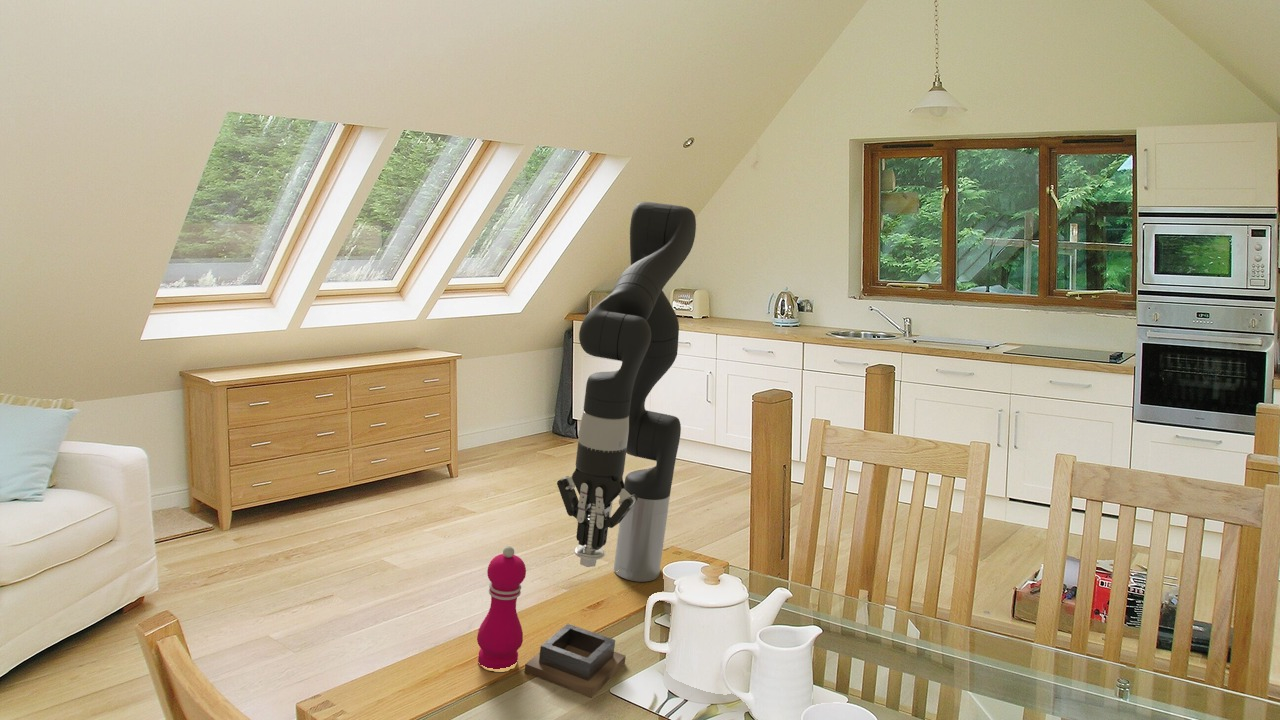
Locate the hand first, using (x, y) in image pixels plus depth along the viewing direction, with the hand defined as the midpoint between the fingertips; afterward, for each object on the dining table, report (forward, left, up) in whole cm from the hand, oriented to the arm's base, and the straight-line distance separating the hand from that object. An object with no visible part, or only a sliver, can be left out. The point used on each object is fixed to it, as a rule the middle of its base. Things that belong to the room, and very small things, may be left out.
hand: (590, 545), depth 151 cm
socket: (0, 0, -20) cm, 20 cm away
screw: (0, 0, -3) cm, 3 cm away
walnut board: (0, 0, -21) cm, 21 cm away
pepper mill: (+6, -11, -21) cm, 25 cm away
